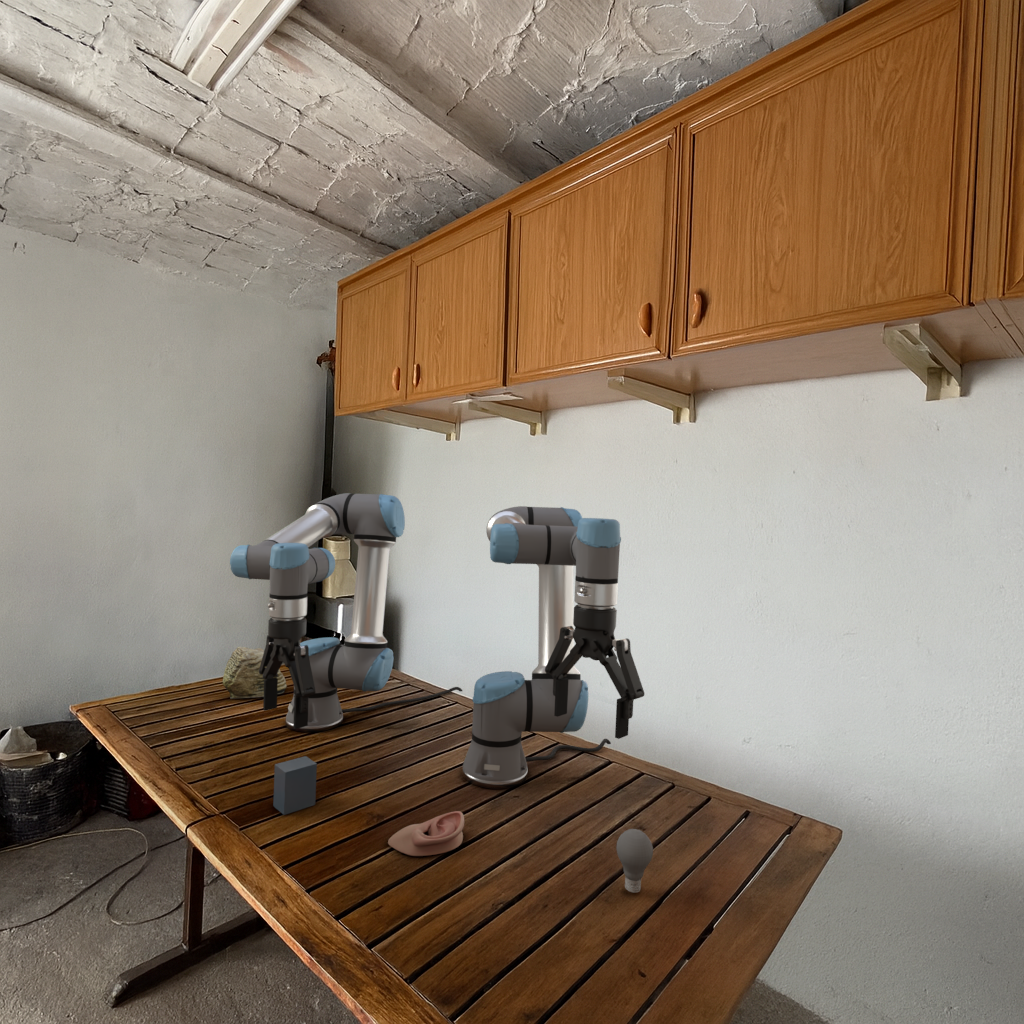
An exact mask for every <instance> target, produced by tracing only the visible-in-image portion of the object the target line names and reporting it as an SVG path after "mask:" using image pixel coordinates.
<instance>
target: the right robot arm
mask: <svg viewBox="0 0 1024 1024" xmlns="http://www.w3.org/2000/svg"><path fill="white" fill-rule="evenodd" d="M486 537H487V539H488V541H489V558H490V560H491V561H492V562H493V563H496V564H497V563H498V564H505V565H512V564H514V565H516V564H517V565H522V564H523V565H536V566H537V567H538V644H537V645H538V658H537V659H538V661H537V662H538V664H537V666H536V667H535V668H534V669H533V670H532V671H531V679H526V678H525V677H524V674H522V673H521V672H518V671H510V670H506V671H505V670H504V671H503V670H502V671H496V672H491V673H488V674H487V673H486V674H484V675H483V676H480V677H479V678H478V679H477V680H476V681H475V683H474V688H473V697H472V702H473V704H472V705H473V706H472V723H471V724H472V725H471V726H472V727H471V741H470V744H469V746H468V750H467V752H466V755H465V758H464V761H463V763H462V774H461V775H462V777H463V779H464V780H465V781H467V782H468V783H470V784H472V785H474V786H478V787H481V788H486V789H498V790H499V789H509V788H515V787H517V786H520V785H521V784H523V783H524V782H525V781H526V780H527V779H528V774H529V771H528V770H529V767H528V763H529V762H537V761H548V760H551V759H553V758H554V757H555V755H556V753H557V752H558V751H560V750H571V751H578V752H584V753H595V752H598V751H600V750H602V749H603V747H604V746H605V745H606V744H607V745H611V744H612V742H611V741H610V740H609V739H608V738H604V739H602V740H601V742H600V744H598V745H597V746H596V747H595V746H594V747H581V746H577V745H571V744H570V745H569V744H561V745H557V746H555V747H554V748H553V749H552V750H551V752H550V754H548V755H538V756H529V757H526V755H525V751H524V748H523V745H522V733H523V732H525V733H526V732H527V733H528V732H530V733H561V734H563V733H575V732H578V731H579V730H581V729H582V727H583V726H584V723H585V721H586V718H587V713H588V707H589V686H588V685H589V684H588V682H587V681H585V680H583V679H581V676H582V675H581V672H580V670H579V669H578V668H577V667H576V666H575V665H576V664H577V663H578V662H579V660H580V659H581V658H585V659H587V658H588V659H591V660H593V661H599V663H600V665H602V666H603V667H604V669H605V671H606V673H607V674H608V676H609V678H610V680H611V682H612V683H613V685H614V687H615V689H616V691H617V693H618V695H619V698H616V710H615V728H614V729H615V730H614V733H615V734H614V738H615V739H617V740H619V739H623V738H624V737H627V736H629V725H630V719H632V718H633V717H634V716H633V715H634V700H638V699H640V698H643V697H644V696H645V691H644V690H645V689H644V687H643V683H642V681H641V678H640V675H639V672H638V669H637V667H636V663H635V661H634V658H633V654H632V651H631V650H632V649H631V640H630V639H629V638H622V639H621V638H620V639H619V638H616V636H615V630H616V627H617V613H618V612H617V611H618V610H617V609H616V607H615V606H616V605H618V596H619V595H618V594H619V567H620V548H621V542H622V537H621V523H620V522H619V520H617V519H614V518H604V517H603V518H599V517H583V515H582V514H581V513H580V511H578V510H577V509H575V508H566V507H562V506H560V507H549V506H547V507H546V506H525V505H523V506H521V505H519V506H512V507H508V508H504V509H502V510H499V511H497V512H496V513H494V514H493V515H491V517H489V520H488V522H487V524H486ZM574 568H575V578H574ZM574 580H575V581H574ZM574 602H575V603H576V605H574ZM615 652H616V653H615Z"/></svg>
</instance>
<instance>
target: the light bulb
mask: <svg viewBox="0 0 1024 1024" xmlns="http://www.w3.org/2000/svg"><path fill="white" fill-rule="evenodd" d="M615 849H616V854H617V857H618V859H619V861H620V863H621V865H622V867H623V873H624V874H623V875H624V876H625V878H624V888H625V890H627V891H628V892H630V893H634V894H635V893H639V892H640V891H641V889H642V887H641V886H642V879H643V877H644V875H645V871H646V868H647V867H648V866H649V864H650V863H651V861H652V859H653V855H654V847H653V843H652V841H651V838H649V836H648V835H647V834H646V833H645V832H643V831H642V830H641V829H636V828H629V829H627V830H625V831H623V832H622V833H621V834H620V835H619V837H618V839H617V841H616V847H615Z"/></svg>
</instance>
